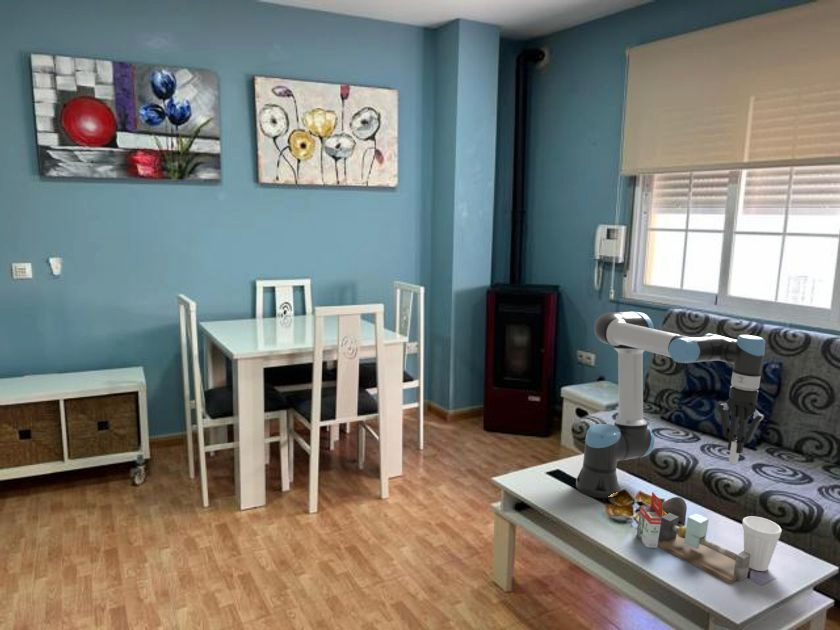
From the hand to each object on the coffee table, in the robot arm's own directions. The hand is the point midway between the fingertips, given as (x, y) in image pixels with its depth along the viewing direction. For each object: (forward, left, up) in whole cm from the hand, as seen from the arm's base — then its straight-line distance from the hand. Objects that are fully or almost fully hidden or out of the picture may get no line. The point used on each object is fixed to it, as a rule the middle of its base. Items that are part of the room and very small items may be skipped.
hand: (733, 461), depth 186 cm
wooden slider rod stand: (+2, -15, -26) cm, 30 cm away
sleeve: (-1, -15, -23) cm, 28 cm away
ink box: (-13, -21, -27) cm, 36 cm away
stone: (-17, +1, -27) cm, 32 cm away
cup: (+13, -5, -27) cm, 30 cm away
